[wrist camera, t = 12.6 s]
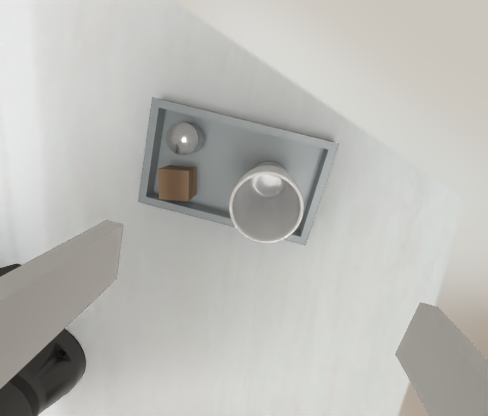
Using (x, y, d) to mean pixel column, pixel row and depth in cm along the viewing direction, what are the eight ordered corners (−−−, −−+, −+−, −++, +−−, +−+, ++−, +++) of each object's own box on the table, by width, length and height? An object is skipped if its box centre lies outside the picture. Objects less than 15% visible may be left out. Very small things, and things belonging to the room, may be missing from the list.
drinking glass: (268, 145, 38) (265, 153, 24) (303, 180, 39) (321, 208, 24) (234, 181, 40) (212, 209, 25) (268, 213, 40) (266, 259, 26)
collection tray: (147, 196, 42) (138, 201, 39) (161, 100, 38) (152, 97, 35) (303, 237, 41) (305, 245, 38) (333, 142, 38) (338, 143, 35)
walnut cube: (169, 192, 41) (158, 198, 37) (169, 165, 40) (158, 168, 36) (196, 194, 41) (188, 201, 37) (196, 167, 40) (188, 171, 36)
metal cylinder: (174, 149, 39) (163, 151, 35) (178, 119, 38) (168, 118, 34) (201, 156, 39) (193, 158, 35) (207, 127, 38) (199, 126, 34)
